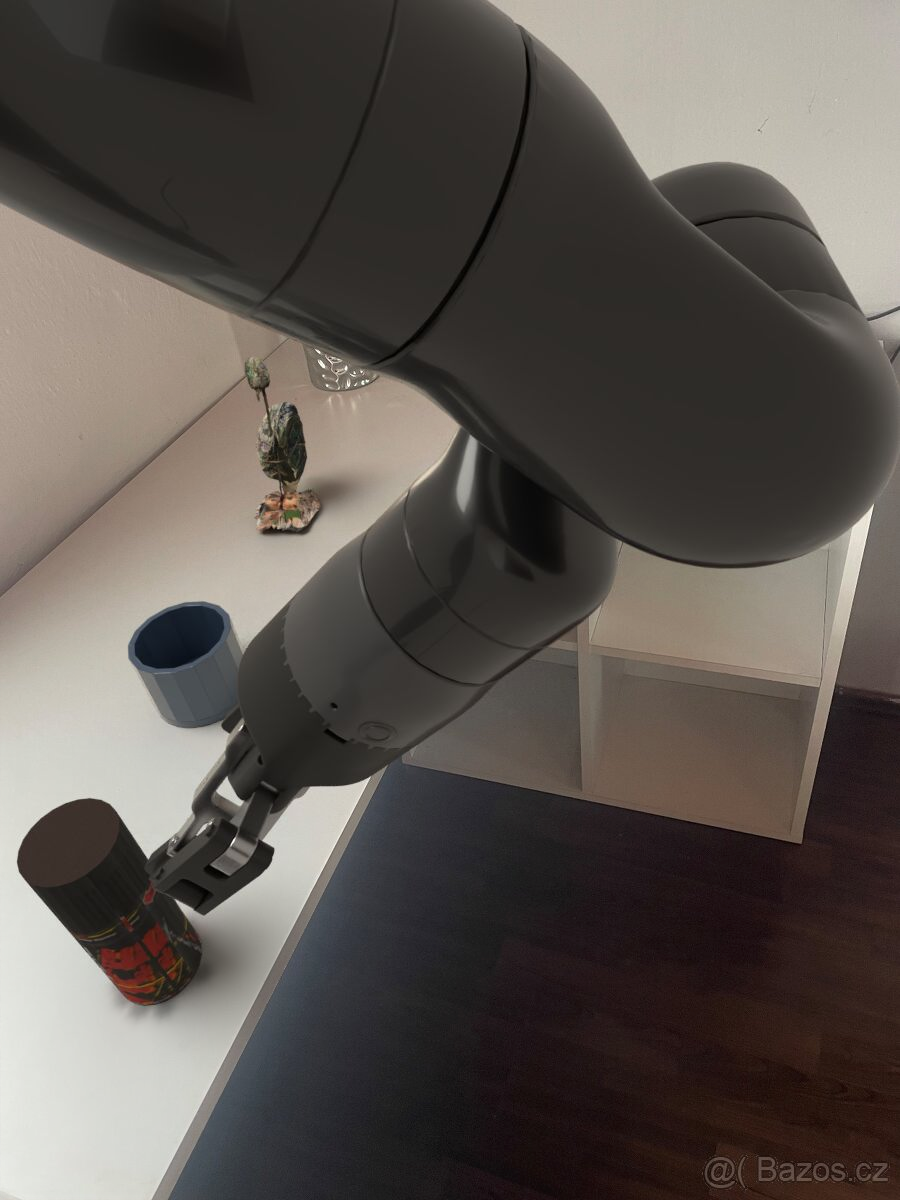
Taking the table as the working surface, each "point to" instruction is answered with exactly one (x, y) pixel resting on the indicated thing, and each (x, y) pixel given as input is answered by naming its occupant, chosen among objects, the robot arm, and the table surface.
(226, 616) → the holder
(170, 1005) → the table surface
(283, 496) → the plant with pod
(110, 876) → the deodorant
